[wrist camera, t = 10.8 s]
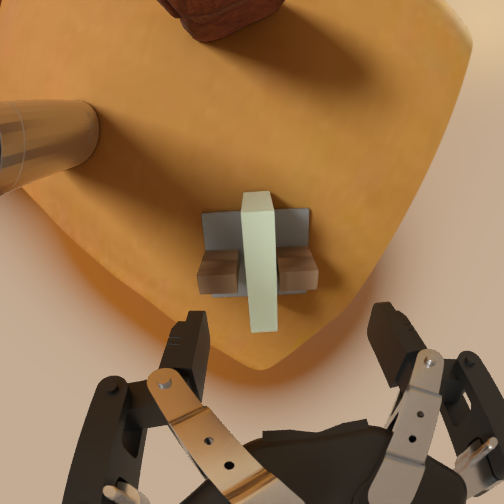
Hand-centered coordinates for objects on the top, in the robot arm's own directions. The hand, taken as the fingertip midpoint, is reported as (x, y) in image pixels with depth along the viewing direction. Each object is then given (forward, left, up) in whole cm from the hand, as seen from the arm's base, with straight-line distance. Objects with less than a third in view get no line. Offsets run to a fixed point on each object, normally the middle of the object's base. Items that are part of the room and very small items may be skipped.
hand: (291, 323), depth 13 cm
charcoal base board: (-2, -7, -23) cm, 24 cm away
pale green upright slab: (-1, -6, -22) cm, 23 cm away
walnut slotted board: (-2, -7, -23) cm, 24 cm away
